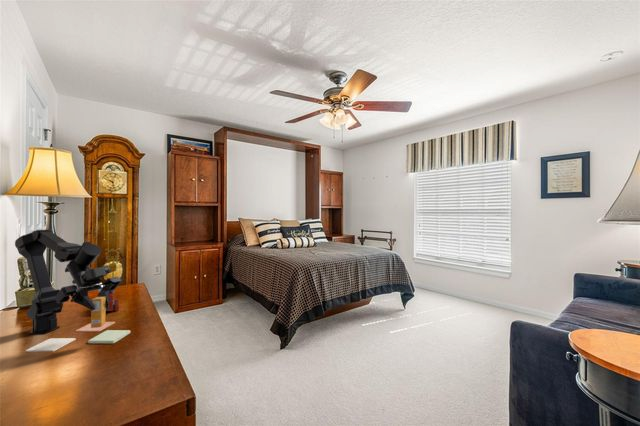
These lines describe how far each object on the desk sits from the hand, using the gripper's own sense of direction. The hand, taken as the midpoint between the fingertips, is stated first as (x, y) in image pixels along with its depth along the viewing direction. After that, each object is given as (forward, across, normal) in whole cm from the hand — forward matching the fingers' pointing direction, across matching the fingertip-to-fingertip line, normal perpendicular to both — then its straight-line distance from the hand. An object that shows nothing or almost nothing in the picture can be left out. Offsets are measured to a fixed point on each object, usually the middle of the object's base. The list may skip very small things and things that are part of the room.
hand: (101, 307), depth 100 cm
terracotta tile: (-3, +10, +23) cm, 25 cm away
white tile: (-1, -6, +21) cm, 22 cm away
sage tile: (+8, +5, +11) cm, 14 cm away
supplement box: (+4, 0, +6) cm, 7 cm away
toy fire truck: (-14, +25, +34) cm, 44 cm away
